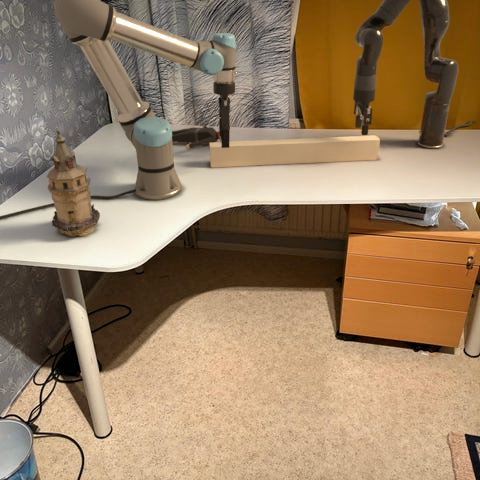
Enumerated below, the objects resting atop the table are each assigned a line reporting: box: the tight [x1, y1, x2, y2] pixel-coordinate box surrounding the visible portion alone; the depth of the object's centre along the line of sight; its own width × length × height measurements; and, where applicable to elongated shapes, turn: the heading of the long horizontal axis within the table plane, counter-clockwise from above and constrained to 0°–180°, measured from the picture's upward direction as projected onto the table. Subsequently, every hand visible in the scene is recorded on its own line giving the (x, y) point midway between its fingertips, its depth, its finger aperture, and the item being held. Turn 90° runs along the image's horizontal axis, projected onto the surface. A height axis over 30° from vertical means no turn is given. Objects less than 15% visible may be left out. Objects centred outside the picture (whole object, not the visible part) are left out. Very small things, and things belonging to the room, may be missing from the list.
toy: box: [172, 124, 222, 150], centre depth 219 cm, size 26×6×30 cm
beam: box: [209, 134, 381, 168], centre depth 198 cm, size 62×5×8 cm, turn 95°
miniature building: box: [46, 129, 101, 237], centre depth 148 cm, size 13×14×30 cm
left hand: (224, 141), depth 194 cm, fingers open, 13 cm apart
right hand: (361, 131), depth 197 cm, fingers open, 8 cm apart
